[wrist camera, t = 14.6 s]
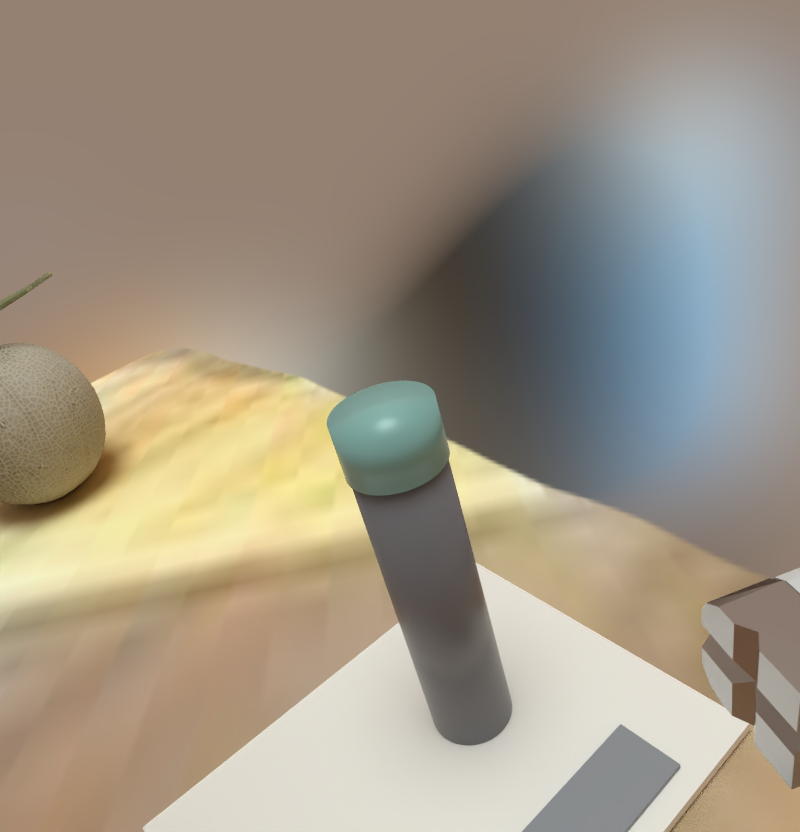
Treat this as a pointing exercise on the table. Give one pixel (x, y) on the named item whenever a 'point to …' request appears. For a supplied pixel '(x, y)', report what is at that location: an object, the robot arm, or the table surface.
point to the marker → (424, 553)
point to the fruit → (45, 422)
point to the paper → (477, 764)
